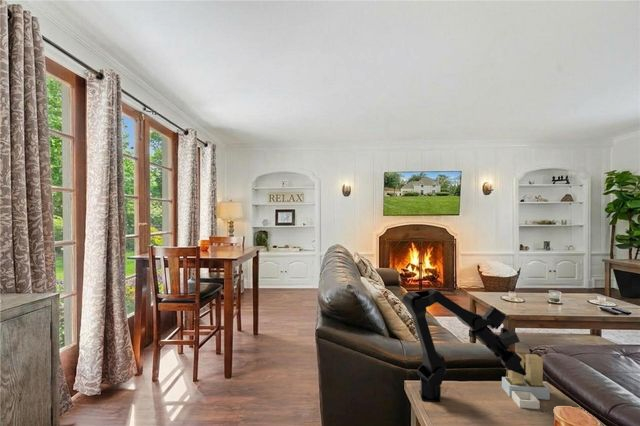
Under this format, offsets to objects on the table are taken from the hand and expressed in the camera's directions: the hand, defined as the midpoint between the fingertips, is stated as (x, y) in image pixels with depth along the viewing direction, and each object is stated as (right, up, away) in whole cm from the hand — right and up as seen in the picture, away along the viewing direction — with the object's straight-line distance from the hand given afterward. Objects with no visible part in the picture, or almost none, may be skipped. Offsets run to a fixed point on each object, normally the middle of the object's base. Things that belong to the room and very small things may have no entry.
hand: (519, 368), depth 123 cm
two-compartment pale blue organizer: (+2, -9, 0) cm, 9 cm away
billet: (-1, -8, 0) cm, 8 cm away
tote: (-2, -9, -7) cm, 11 cm away
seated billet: (+5, -8, -1) cm, 9 cm away
